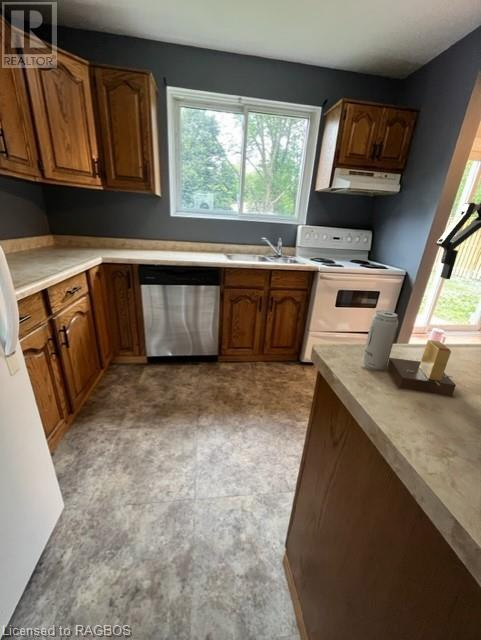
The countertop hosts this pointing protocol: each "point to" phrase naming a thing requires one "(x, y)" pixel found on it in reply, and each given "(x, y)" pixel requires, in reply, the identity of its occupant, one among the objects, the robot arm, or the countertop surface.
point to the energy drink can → (380, 340)
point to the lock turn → (434, 360)
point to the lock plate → (418, 378)
